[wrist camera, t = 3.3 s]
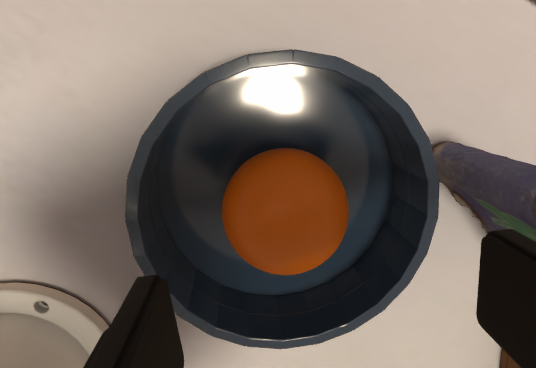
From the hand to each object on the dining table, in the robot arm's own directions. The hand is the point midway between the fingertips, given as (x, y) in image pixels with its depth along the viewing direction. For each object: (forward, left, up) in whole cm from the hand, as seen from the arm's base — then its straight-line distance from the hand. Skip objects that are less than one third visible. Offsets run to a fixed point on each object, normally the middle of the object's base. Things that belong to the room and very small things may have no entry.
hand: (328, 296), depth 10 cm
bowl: (0, 0, -12) cm, 12 cm away
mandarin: (0, 0, -8) cm, 8 cm away
